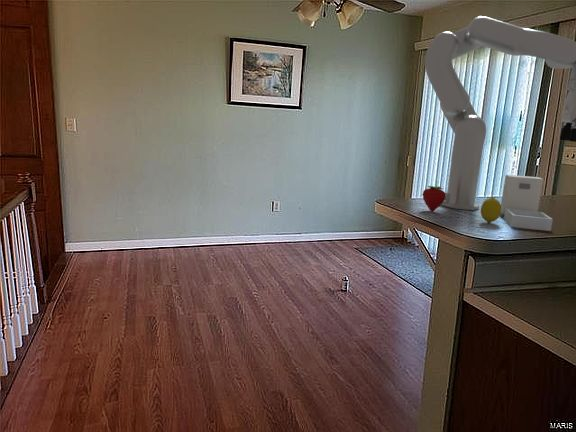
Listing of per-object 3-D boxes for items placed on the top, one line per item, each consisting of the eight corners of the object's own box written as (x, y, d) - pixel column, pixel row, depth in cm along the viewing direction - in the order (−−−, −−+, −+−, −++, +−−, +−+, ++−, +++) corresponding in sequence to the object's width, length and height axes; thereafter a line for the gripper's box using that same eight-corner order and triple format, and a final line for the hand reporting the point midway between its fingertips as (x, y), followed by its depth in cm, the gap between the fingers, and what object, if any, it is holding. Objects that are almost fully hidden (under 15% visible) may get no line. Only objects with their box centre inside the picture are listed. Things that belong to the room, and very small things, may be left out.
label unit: (501, 217, 148) (507, 176, 145) (497, 213, 155) (503, 174, 152) (538, 221, 146) (546, 179, 143) (532, 216, 152) (539, 177, 150)
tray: (510, 226, 135) (512, 215, 134) (503, 219, 145) (505, 208, 144) (550, 231, 133) (552, 219, 132) (540, 223, 143) (542, 212, 142)
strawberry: (425, 208, 156) (429, 178, 154) (446, 212, 152) (450, 182, 149) (417, 210, 152) (420, 180, 150) (438, 214, 147) (442, 183, 145)
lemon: (475, 220, 141) (479, 194, 139) (493, 221, 142) (497, 195, 140) (484, 225, 136) (488, 198, 134) (502, 225, 136) (506, 199, 134)
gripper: (560, 87, 154) (549, 138, 158) (578, 83, 138) (565, 141, 142) (584, 88, 153) (573, 140, 157) (606, 85, 136) (593, 143, 140)
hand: (569, 140), depth 149 cm, fingers open, 9 cm apart
